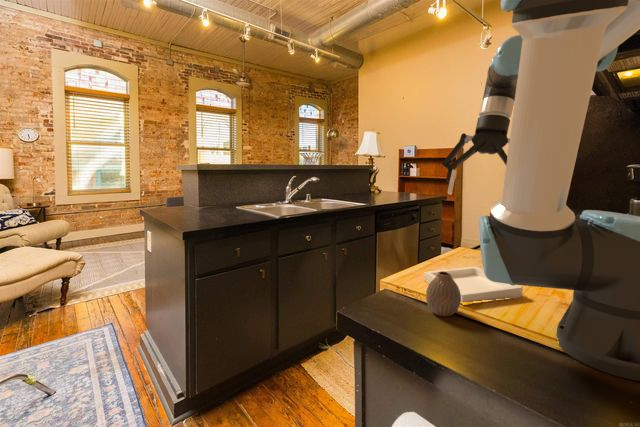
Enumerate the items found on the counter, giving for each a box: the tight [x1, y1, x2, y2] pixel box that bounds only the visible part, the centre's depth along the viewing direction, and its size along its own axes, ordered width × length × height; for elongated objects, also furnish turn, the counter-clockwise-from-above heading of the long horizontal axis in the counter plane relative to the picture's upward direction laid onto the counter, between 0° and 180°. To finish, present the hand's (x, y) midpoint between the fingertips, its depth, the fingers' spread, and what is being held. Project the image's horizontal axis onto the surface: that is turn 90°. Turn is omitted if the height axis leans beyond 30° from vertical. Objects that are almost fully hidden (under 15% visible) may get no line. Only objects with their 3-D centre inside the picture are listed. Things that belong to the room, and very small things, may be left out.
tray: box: [423, 265, 524, 302], centre depth 81 cm, size 16×16×2 cm
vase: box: [425, 271, 461, 317], centre depth 69 cm, size 7×7×9 cm
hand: (476, 198), depth 84 cm, fingers open, 13 cm apart
